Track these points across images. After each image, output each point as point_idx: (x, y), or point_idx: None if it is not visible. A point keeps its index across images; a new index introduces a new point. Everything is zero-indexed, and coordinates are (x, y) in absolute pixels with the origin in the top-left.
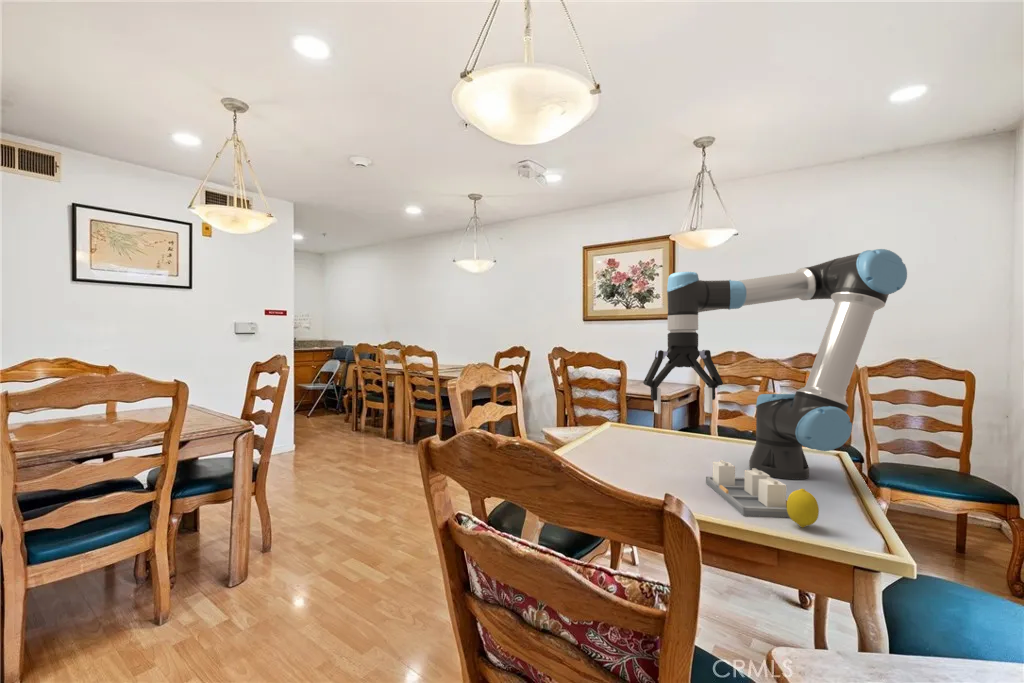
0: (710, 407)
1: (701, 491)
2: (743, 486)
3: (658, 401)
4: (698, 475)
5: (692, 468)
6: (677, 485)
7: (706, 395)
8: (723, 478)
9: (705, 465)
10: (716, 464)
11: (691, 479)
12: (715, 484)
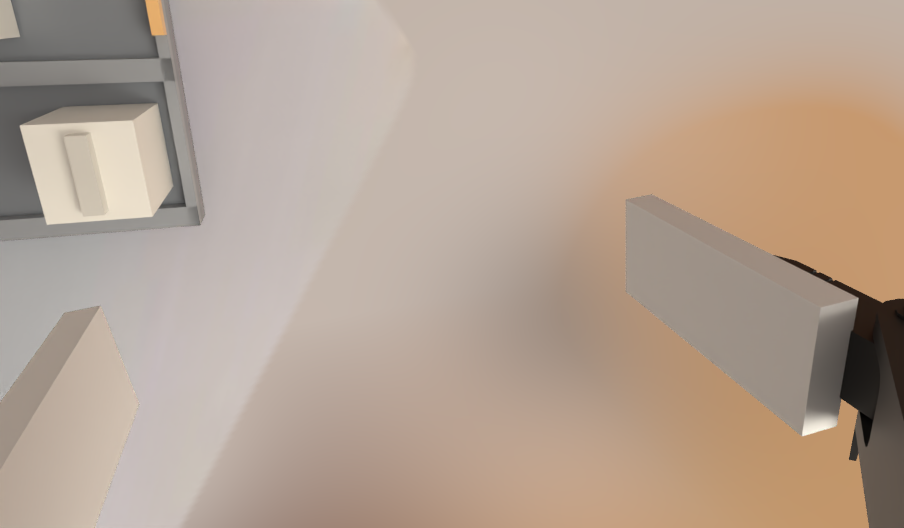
0: (67, 339)
1: (257, 80)
2: (14, 75)
3: (723, 236)
4: (216, 330)
5: (222, 430)
6: (358, 155)
7: (64, 499)
8: (121, 109)
9: (144, 492)
10: (141, 160)
11: (266, 260)
12: (177, 92)
